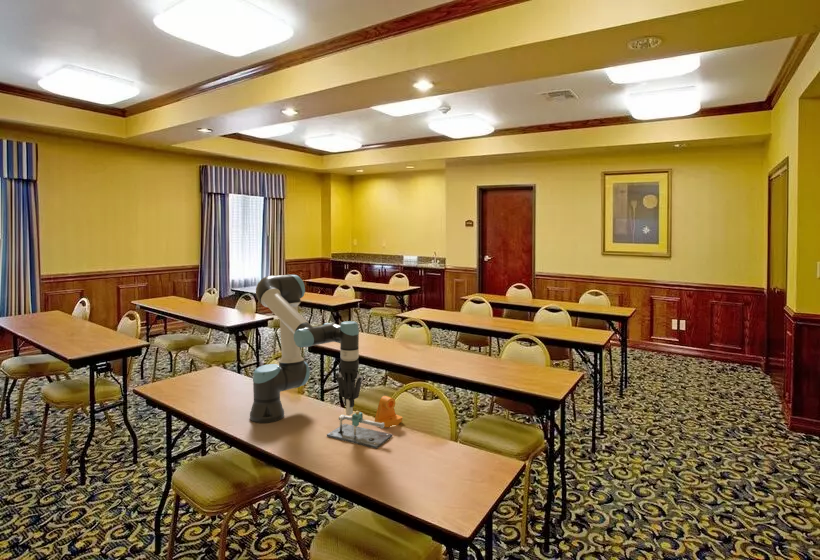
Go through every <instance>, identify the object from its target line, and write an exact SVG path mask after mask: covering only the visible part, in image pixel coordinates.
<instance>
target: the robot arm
mask: <svg viewBox="0 0 820 560" xmlns="http://www.w3.org/2000/svg"><path fill="white" fill-rule="evenodd" d="M305 287H306V286H305V283H304V281H303V279H302V278H301V277H300V276H299V275H297V274H283V275H281V274H280V275H279V274H278V275H267V276H265V277H263V278H262V279H260V280H259V281H258V283H257V285H256V288H255V296H256V299H257V300H258V302H259V303H260V304H261V305H262V306H263V307H265V308H268V309H269V310H270V311H271V312H272V313H273V314H274V315H275V316H276V317H277V318H278V319H279V328H280V330H279V331H280V332H279V333H280V347H281V358H280V359H279V360H278V364H277V363H270V364H264V365H263V364H262V365H260V366H258V367H257V368H255V370H254V371H253V377H252V382H253V383H252V385H253V390H252V391H253V402H252V406H251V408H250V409H251V411H249V420H250V421H251V422H253V423H259V424H265V423H267V424H268V423H273V422H277V421H280V420H282V419H283V418H284V417H285V409H284V408H283V405H282V401H281V392H284V391H288V390H292V389H298V388H300V387H302V386H305V385H306V384H307V383H308V381H309V379H310V375H311V372H310V371H311V369H310V367H309V365H308V363H307V362H306V361H305V358H304V357H303V356H301V348H309V347H313V346H317V345H323V344H329V343H337V344H340V347H339V349H340V351H339V353H340V358H339V359H340V362H339V363H340V364H339V365H340V371H339V372H338V373H335V378H336V379H337V384H338V389H339V396H340V398H341V397H342V398H344V407H346V408H345V410H346V411H345V415H346V416H352V415H353V414H354V412H353V411H354V407H355V400H357V399H358V398H359V396H360V391H361V387H362V382H363V380H364V378H365V377H364V376H362V375H361V374H360V372H359V366H360V365H359V364H360V363H359V362H360V361H359V360H360V359H359V355H360V354H359V349H360V348H359V347H360V346H359V335H360V330H359V323H358V322H356V321H351V320H349V321H348V320H346V321H342V322H340V324H337V323H334V322H325V323H323V324H322V325H317V326H313V325H312V324H310V323H309V322H308V321H307V319H306V318H305V317H303V316H302V314H301V313H299V311H298V310H299V309H298V308H299V307H298V306H299V305H300V304H301V302H302V301H301V299H302V298H303V297H304V296H305V293H306V288H305Z"/></svg>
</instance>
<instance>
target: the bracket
mask: <svg viewBox="0 0 820 560" xmlns="http://www.w3.org/2000/svg"><path fill="white" fill-rule="evenodd" d="M395 406H396V400H395V398H392V397H390V396H387V395H382V396H381V398H380V399H379V403H378V405H377V409H376V414H375V417H374V422H379V423H382V422H383V423H384V428H389V427H390V426H392V425H396V426H399V425H400V423H402V422H403V416H402V415H398V414H396V411H395Z"/></svg>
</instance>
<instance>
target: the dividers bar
mask: <svg viewBox="0 0 820 560" xmlns="http://www.w3.org/2000/svg"><path fill="white" fill-rule="evenodd" d="M344 420H347V421H351V422H352V415H346V414H340V416H338V421H339V427H340V433H342V425H343V421H344ZM359 424H364V425H370V426H374V427H379V428H380V429H384V428H385V427H384V423H383V422H382V423H379V422H375V420H369V419H364V418H363V419H359Z"/></svg>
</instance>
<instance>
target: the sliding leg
mask: <svg viewBox="0 0 820 560" xmlns="http://www.w3.org/2000/svg"><path fill="white" fill-rule="evenodd" d="M363 414H364V413H363V412H361V411H359V410H355V412H354V413H352V414H351V417H352V421H351V425H353V426H354V435H356V426H357V427H359V426H360V422H359V419H364V417H363V416H364V415H363Z"/></svg>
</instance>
